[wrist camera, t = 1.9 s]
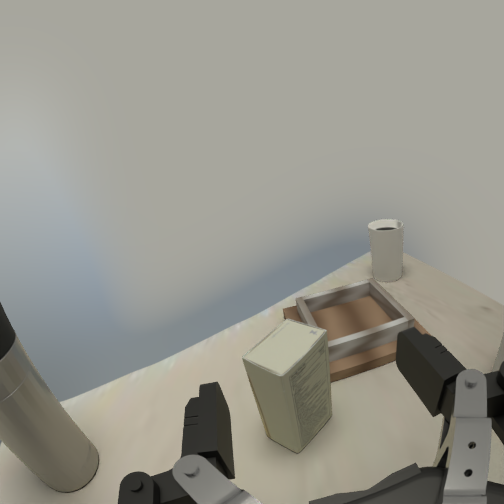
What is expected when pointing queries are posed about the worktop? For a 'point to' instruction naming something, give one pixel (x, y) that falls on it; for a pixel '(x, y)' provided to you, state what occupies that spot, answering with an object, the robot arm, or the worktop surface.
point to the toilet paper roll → (499, 356)
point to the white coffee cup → (386, 249)
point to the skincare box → (291, 382)
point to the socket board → (355, 325)
